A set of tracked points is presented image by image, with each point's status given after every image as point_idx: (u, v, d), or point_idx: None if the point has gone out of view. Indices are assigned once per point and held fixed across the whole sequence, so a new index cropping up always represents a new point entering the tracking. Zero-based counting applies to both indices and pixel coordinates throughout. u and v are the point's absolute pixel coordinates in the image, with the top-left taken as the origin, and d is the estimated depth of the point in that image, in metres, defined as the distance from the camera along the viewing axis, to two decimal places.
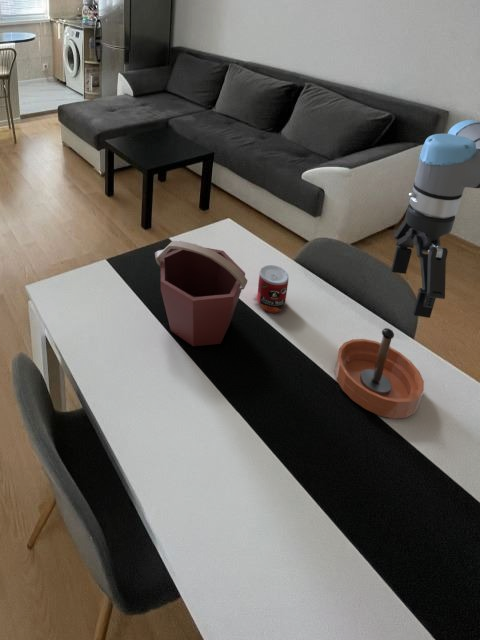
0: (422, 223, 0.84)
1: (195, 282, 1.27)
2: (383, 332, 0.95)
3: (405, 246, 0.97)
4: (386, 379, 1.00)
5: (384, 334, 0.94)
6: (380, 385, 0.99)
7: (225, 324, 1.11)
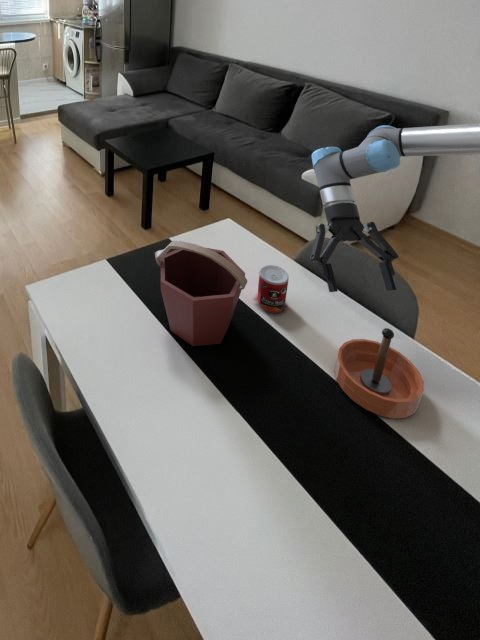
0: None
1: (195, 282, 1.27)
2: (383, 332, 0.95)
3: (384, 260, 1.06)
4: (386, 379, 1.00)
5: (384, 334, 0.94)
6: (380, 385, 0.99)
7: (225, 324, 1.11)
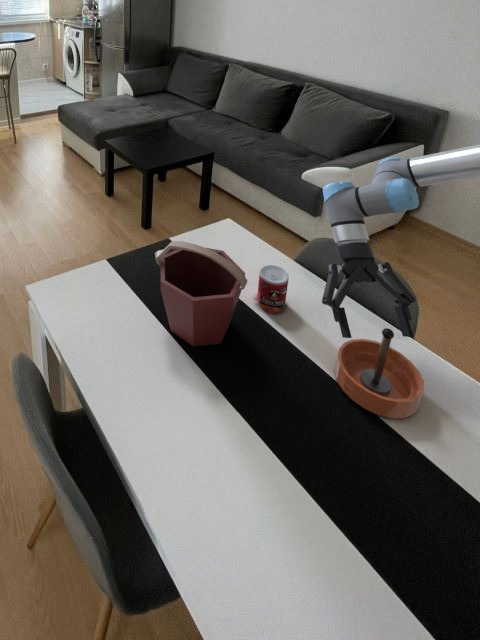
0: None
1: (195, 282, 1.27)
2: (383, 332, 0.95)
3: (400, 304, 1.01)
4: (386, 379, 1.00)
5: (384, 334, 0.94)
6: (380, 385, 0.99)
7: (225, 324, 1.11)
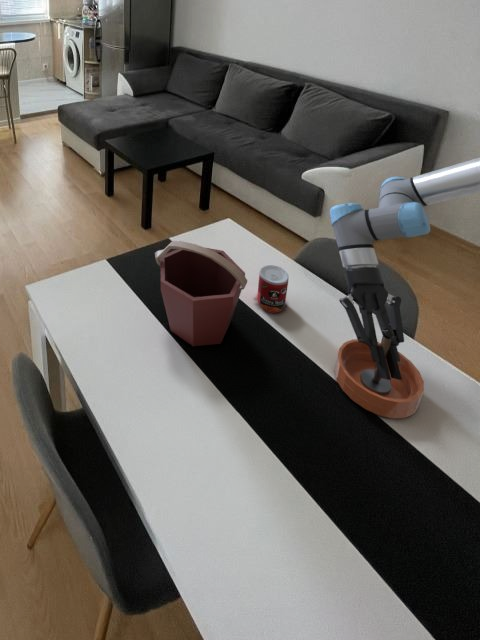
0: None
1: (195, 282, 1.27)
2: (383, 332, 0.95)
3: None
4: (386, 379, 1.00)
5: (384, 334, 0.94)
6: (380, 385, 0.99)
7: (225, 324, 1.11)
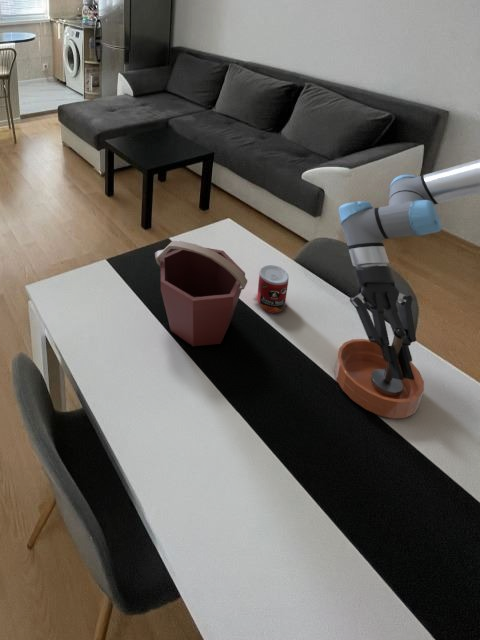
0: None
1: (195, 282, 1.27)
2: (395, 332, 0.94)
3: None
4: (397, 379, 0.99)
5: (396, 334, 0.93)
6: (391, 385, 0.98)
7: (225, 324, 1.11)
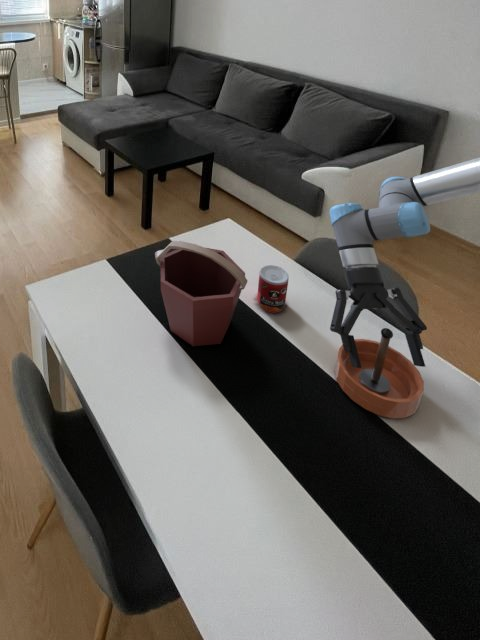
0: None
1: (195, 282, 1.27)
2: (382, 332, 0.95)
3: (411, 331, 0.97)
4: (385, 379, 1.00)
5: (383, 334, 0.94)
6: (379, 385, 0.99)
7: (225, 324, 1.11)
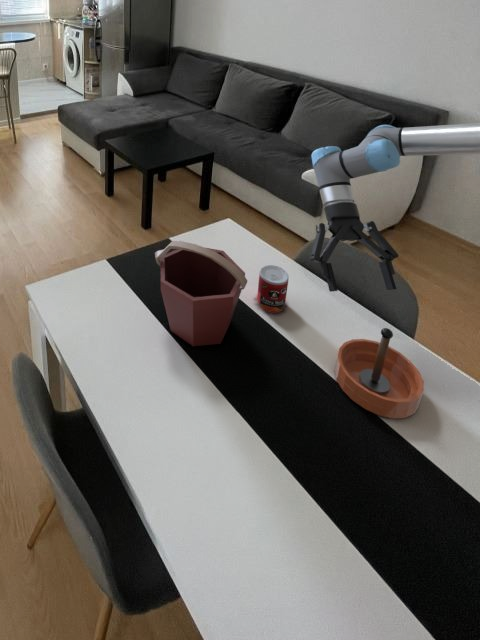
0: None
1: (195, 282, 1.27)
2: (382, 332, 0.95)
3: (384, 259, 1.06)
4: (385, 379, 1.00)
5: (383, 334, 0.94)
6: (379, 385, 0.99)
7: (225, 324, 1.11)
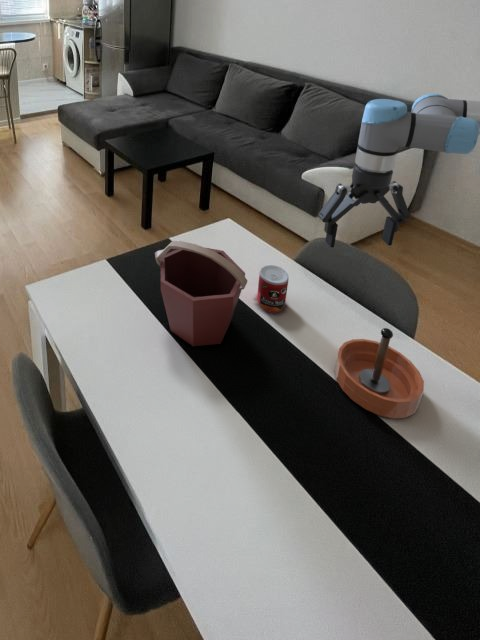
0: (353, 169, 1.01)
1: (195, 282, 1.27)
2: (382, 332, 0.95)
3: (394, 218, 1.02)
4: (385, 379, 1.00)
5: (383, 334, 0.94)
6: (379, 385, 0.99)
7: (225, 324, 1.11)
